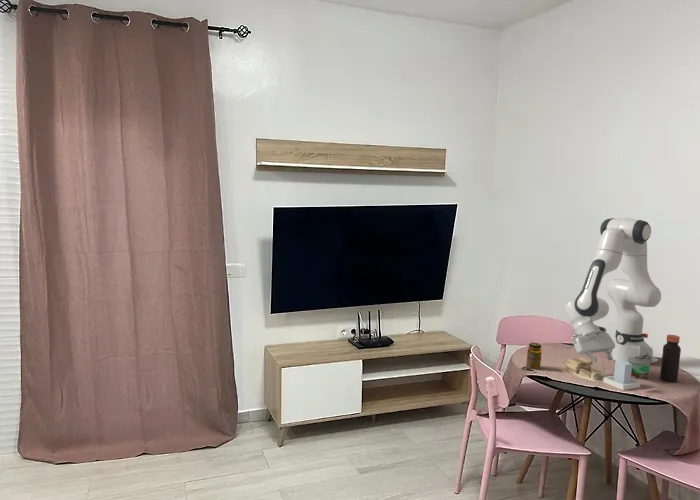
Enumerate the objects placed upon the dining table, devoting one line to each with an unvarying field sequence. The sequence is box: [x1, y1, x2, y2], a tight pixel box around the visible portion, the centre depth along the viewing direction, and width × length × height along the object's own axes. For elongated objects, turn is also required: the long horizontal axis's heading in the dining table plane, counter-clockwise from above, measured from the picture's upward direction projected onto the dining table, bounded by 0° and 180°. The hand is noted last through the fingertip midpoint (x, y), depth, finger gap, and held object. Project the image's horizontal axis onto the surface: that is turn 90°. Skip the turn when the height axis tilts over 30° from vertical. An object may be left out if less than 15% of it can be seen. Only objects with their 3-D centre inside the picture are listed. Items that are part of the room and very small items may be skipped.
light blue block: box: [613, 360, 632, 385], centre depth 244 cm, size 4×5×10 cm
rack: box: [558, 366, 609, 383], centre depth 257 cm, size 14×18×4 cm
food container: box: [628, 354, 653, 381], centre depth 255 cm, size 12×6×10 cm, turn 117°
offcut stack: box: [564, 357, 593, 373], centre depth 261 cm, size 10×6×4 cm, turn 114°
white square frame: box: [602, 375, 641, 391], centre depth 245 cm, size 10×10×3 cm
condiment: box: [519, 342, 542, 374], centre depth 262 cm, size 7×8×12 cm
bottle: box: [659, 334, 682, 383], centre depth 254 cm, size 7×7×20 cm
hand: (603, 360), depth 253 cm, fingers open, 8 cm apart
